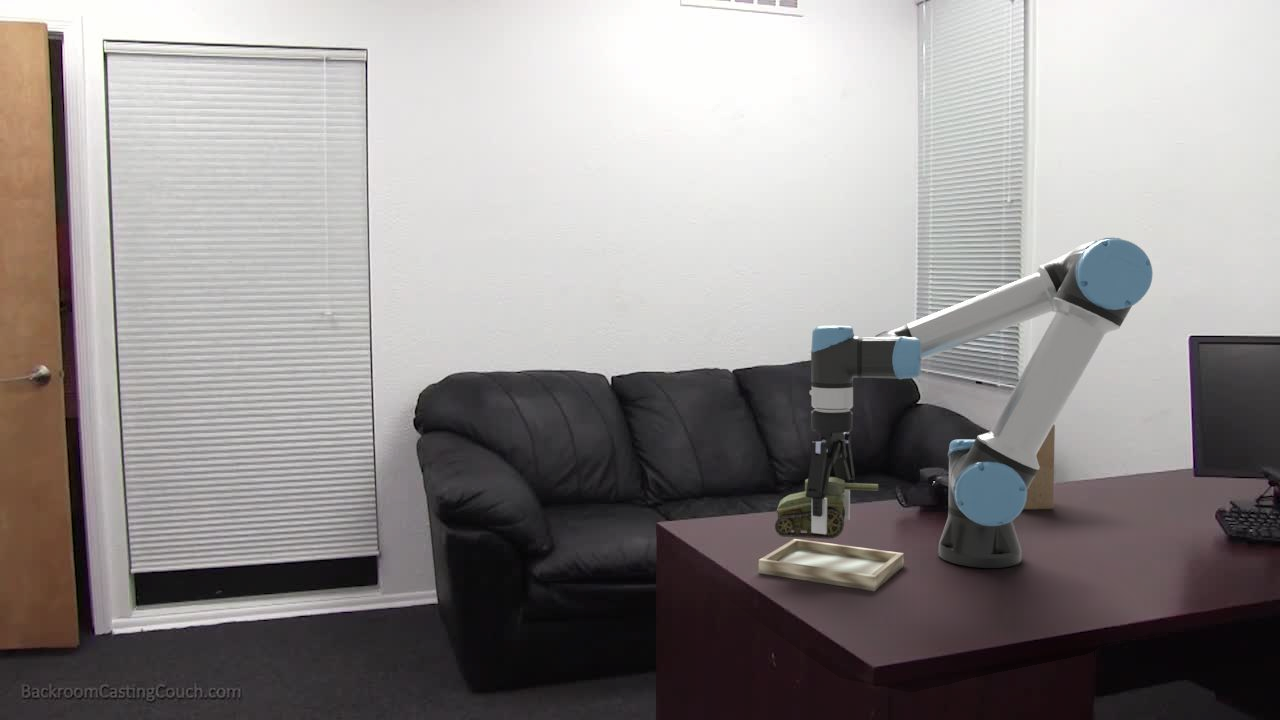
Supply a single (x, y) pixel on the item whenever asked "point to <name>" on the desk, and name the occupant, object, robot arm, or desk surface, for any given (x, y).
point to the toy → (798, 510)
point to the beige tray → (832, 564)
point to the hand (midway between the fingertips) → (831, 525)
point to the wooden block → (1043, 477)
